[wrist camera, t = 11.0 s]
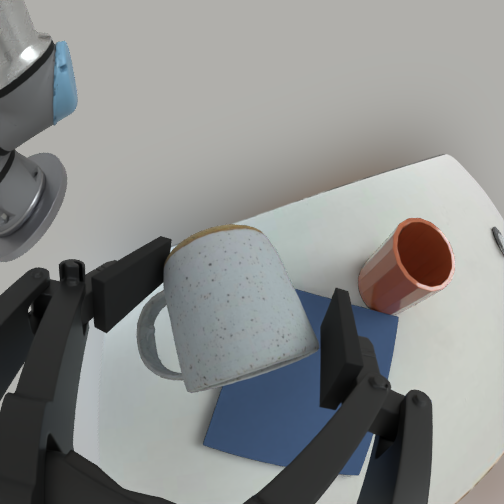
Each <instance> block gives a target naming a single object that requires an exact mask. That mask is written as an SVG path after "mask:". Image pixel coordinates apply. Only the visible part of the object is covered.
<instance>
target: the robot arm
mask: <svg viewBox="0 0 504 504" xmlns="http://www.w3.org/2000/svg"><path fill="white" fill-rule="evenodd" d="M76 106H77V90H76V84H75V77H74V72H73V67H72V61H71V57H70V52H69V48H68V46H67V43H66V42H65V41H62V42H57V43H56V44H54V43H53V41H52V38H51V36H50V35H49V34H47V33H38V32H36V30H35V28H34V26H33V23H32V21H31V18H30V15H29V13H28V10H27V8H26V5H25V2H24V0H0V237H4V236H8V235H10V234H12V233H13V232H15V231H16V230H18V229H19V228H20V227H21V226H22V225H23V224H24V223H25V222H26V221H27V220H28V218H29V217H30V216H31V215H32V213H33V212H34V210H35V209H36V207H37V205H38V203H39V201H40V199H41V197H42V194H43V191H44V188H45V175H44V172H43V171H42V169H41V168H40V167H39V166H38V165H37V164H36V163H35V162H33V161H31V160H30V159H28V158H26V157H25V156H23V155H21V154H20V153H18V152H17V151H16V150H15V148H17V147H18V146H20V145H21V144H23V143H24V142H26V141H27V140H29V139H30V138H32V137H34V136H35V135H37V134H38V133H40V132H42V131H43V130H45V129H46V128H48V127H50V126H52V125H56V124H57V122H58V121H60V120H62V119H63V118H65V117H66V116H68V115H70V114H71V113H72V112H73V111H74V110H75V109H76ZM170 248H171V239H169V238H165V237H162V236H160V237H158V238H157V239H155V240H153V241H152V242H150V243H148V244H146V245H144V246H143V247H141V248H139V249H137V250H136V251H134V252H132V253H130V254H129V255H127V256H125V257H123V258H122V259H120V260H118V261H116V260H114V261H110V262H106V263H105V264H103V265H101V266H99V267H98V268H96V270H93V271H91V272H89V273H88V274H86V275H85V264H84V263H83V262H82V261H80V260H75V259H69V260H65V261H62V262H61V263H60V264H59V274H60V281H56V280H51V279H50V277H49V271H48V270H47V269H44V268H34V269H31V270H29V271H28V272H26V273H25V274H24V275H23V276H22V277H21V278H19V279H18V280H17V281H16V282H15V283H14V284H13V285H11V286H10V287H9V288H8V289H7V290H6V291H5V292H4V293H3V294H1V295H0V400H1V399H2V397H3V395H4V394H5V392H6V390H7V389H8V387H9V386H10V384H11V382H12V381H13V379H14V378H15V376H16V374H17V373H18V371H19V370H20V368H21V367H22V365H23V364H24V367H23V369H22V373H21V375H20V379H19V382H18V385H17V388H16V391H15V393H14V394H13V393H7V394H6V395H5V397H4V400H3V403H2V407H1V411H0V504H176V503H173V502H171V501H168V500H166V499H163V498H160V497H155V496H151V495H146V494H142V493H138V492H134V491H130V490H126V489H124V488H122V487H121V486H120V485H118V484H117V483H116V482H115V481H114V480H113V479H111V478H110V477H109V476H108V475H107V474H106V473H105V472H104V471H102V470H101V469H100V468H99V467H98V466H97V465H95V464H94V463H92V462H90V461H88V460H87V459H86V458H84V457H82V456H81V455H79V454H78V453H76V452H75V451H74V448H73V431H74V430H73V429H74V419H75V408H76V400H77V393H78V386H79V385H78V384H79V379H80V372H81V367H82V361H83V355H84V350H85V345H86V340H87V335H88V331H89V321H90V320H91V319H92V318H93V317H94V326H95V327H96V328H97V329H99V330H101V331H103V332H105V333H107V332H109V331H110V330H111V329H112V328H113V327H114V326H115V325H116V324H117V323H118V322H119V321H121V320H122V319H123V318H124V317H125V316H126V315H127V314H128V313H129V312H130V311H132V310H133V309H134V308H135V307H136V306H137V305H138V304H139V303H140V302H142V301H143V300H144V299H145V298H146V297H147V296H148V295H149V294H151V293H152V292H153V291H154V290H155V289H156V288H157V287H158V286H160V285H161V284H162V283H163V282H164V264H165V261H166V259H167V257H168V256H169V254H170ZM30 305H31V311H30V312H29V313H28V309H29V306H30ZM24 362H25V363H24ZM340 403H341V407H340V408H339V409H338V410H337V412H336V413H335V414H334V415H333V416H332V418H331V419H330V420H329V421H328V422H327V424H326V425H325V426H324V427H323V428H322V429H321V430H320V432H319V433H318V434H317V435H316V436H315V437H314V438H313V439H312V441H311V442H310V443H309V444H308V445H307V446H306V447H305V448H304V449H303V450H302V451H301V452H300V453H299V454H298V455H297V456H296V457H295V459H294V460H293V461H292V462H291V463H290V464H289V465H288V466H286V467H285V468H284V469H283V470H282V471H281V472H280V473H279V474H278V475H277V476H276V477H275V478H274V479H273V480H272V481H271V482H270V483H268V484H267V485H266V486H265V487H264V488H263V489H262V490H261V491H259V492H258V493H257V494H256V495H254V496H252V497H251V498H249V499H248V500H247V501H246V502H244V503H243V504H315V503H316V502H317V501H318V500H319V498H320V497H321V496H322V495H323V494H324V492H325V491H326V490H327V489H328V487H329V486H330V485H331V484H332V482H333V481H334V480H335V478H336V477H337V476H338V474H339V473H340V472H341V470H342V469H343V467H344V466H345V465H346V463H347V462H348V460H349V459H350V457H351V456H352V455H353V453H354V452H355V450H356V449H357V447H358V446H359V444H360V442H361V441H362V439H363V438H364V436H365V435H366V433H367V431H368V432H371V433H373V434H376V435H375V440H374V444H373V448H372V453H371V457H370V461H369V464H368V468H367V472H366V475H365V479H364V482H363V485H362V489H361V492H360V495H359V498H358V501H357V504H427V503H428V496H429V487H430V477H431V463H432V434H433V425H432V403H431V400H430V398H429V397H428V396H427V395H426V394H425V393H424V392H421V391H419V390H411V391H409V392H408V393H407V394H406V396H404V395H401V394H399V393H397V392H394V391H393V390H391V385H390V382H389V381H388V380H387V378H385V377H384V376H382V375H381V374H380V370H379V366H378V362H377V358H376V354H375V350H374V346H373V344H372V343H371V341H370V340H369V339H368V338H366V337H362V336H358V333H357V328H356V324H355V319H354V314H353V310H352V306H351V301H350V297H349V293H348V291H345V290H342V289H338V288H336V289H335V291H334V294H333V297H332V299H331V302H330V304H329V307H328V309H327V312H326V314H325V316H324V319H323V321H322V324H321V326H320V405H319V407H321V408H326V409H331V410H336V409H337V408H338V406H339V405H340Z"/></svg>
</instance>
